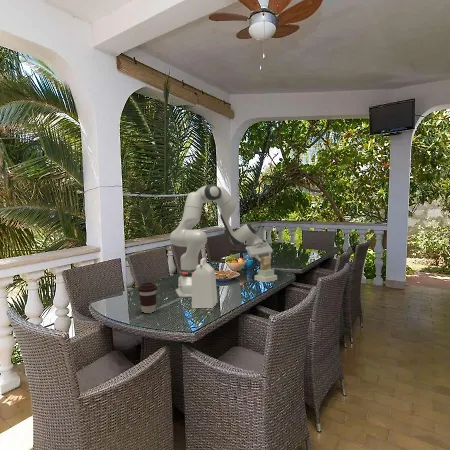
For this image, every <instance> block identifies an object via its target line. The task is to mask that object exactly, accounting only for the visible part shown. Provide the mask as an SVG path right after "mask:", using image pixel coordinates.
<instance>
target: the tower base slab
mask: <svg viewBox="0 0 450 450" xmlns="http://www.w3.org/2000/svg"><path fill="white" fill-rule="evenodd" d="M255 280H257V281H256V282H259V281H262V282H261V283H263V282H265V283H264V284H267V283H266V282H269V283H271V282H270V281H273V282H276V281H275V280H277V281H278V275H277V274H274V276H269V277H262V276H259V275H258V274H254V281H255Z"/></svg>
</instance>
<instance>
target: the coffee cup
mask: <svg viewBox="0 0 450 450" xmlns="http://www.w3.org/2000/svg"><path fill="white" fill-rule="evenodd" d="M157 290H158V286H157V284H155V283H154V282H142V283H141V284H140V286H138V287H137V291H138V292H139V294H138V295H139V296H138V297H139V302H140V304H139V305H140V308H141V313H142V312H144V313H150V312H154V311H155V312H156V309H157ZM155 312H154V313H155ZM144 313H143V314H144ZM150 314H151V313H150Z"/></svg>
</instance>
